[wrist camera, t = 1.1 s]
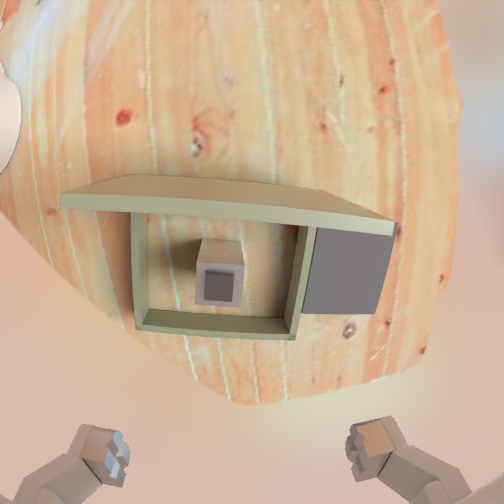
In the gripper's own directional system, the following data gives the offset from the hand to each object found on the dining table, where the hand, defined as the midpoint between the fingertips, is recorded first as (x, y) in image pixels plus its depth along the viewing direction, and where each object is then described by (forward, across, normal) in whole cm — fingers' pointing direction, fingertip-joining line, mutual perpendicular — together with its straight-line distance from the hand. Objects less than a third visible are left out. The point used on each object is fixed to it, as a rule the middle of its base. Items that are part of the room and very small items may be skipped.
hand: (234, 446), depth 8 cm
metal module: (+24, +2, +1) cm, 24 cm away
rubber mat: (+25, -13, +3) cm, 28 cm away
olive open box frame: (+24, +2, +1) cm, 24 cm away
